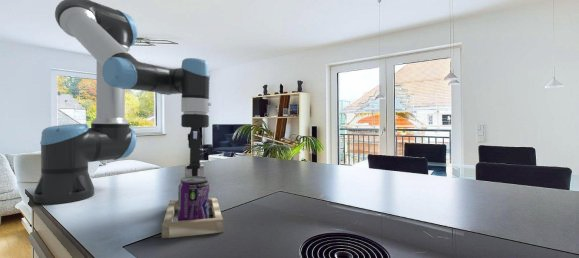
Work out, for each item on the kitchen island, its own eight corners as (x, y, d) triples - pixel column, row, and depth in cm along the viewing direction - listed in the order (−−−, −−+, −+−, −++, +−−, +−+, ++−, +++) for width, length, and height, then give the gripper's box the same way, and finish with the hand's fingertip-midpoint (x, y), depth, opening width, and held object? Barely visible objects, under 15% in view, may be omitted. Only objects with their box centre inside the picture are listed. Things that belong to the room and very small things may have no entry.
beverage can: (199, 234, 63) (200, 182, 63) (171, 231, 64) (172, 180, 64) (213, 223, 70) (214, 176, 69) (188, 220, 71) (189, 174, 71)
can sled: (169, 208, 80) (170, 165, 79) (216, 205, 84) (217, 164, 83) (161, 238, 60) (162, 181, 59) (223, 232, 64) (224, 178, 64)
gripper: (211, 113, 69) (210, 197, 69) (207, 114, 92) (206, 177, 93) (179, 112, 66) (178, 199, 67) (183, 114, 90) (182, 178, 91)
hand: (194, 186), depth 80 cm, fingers open, 13 cm apart
